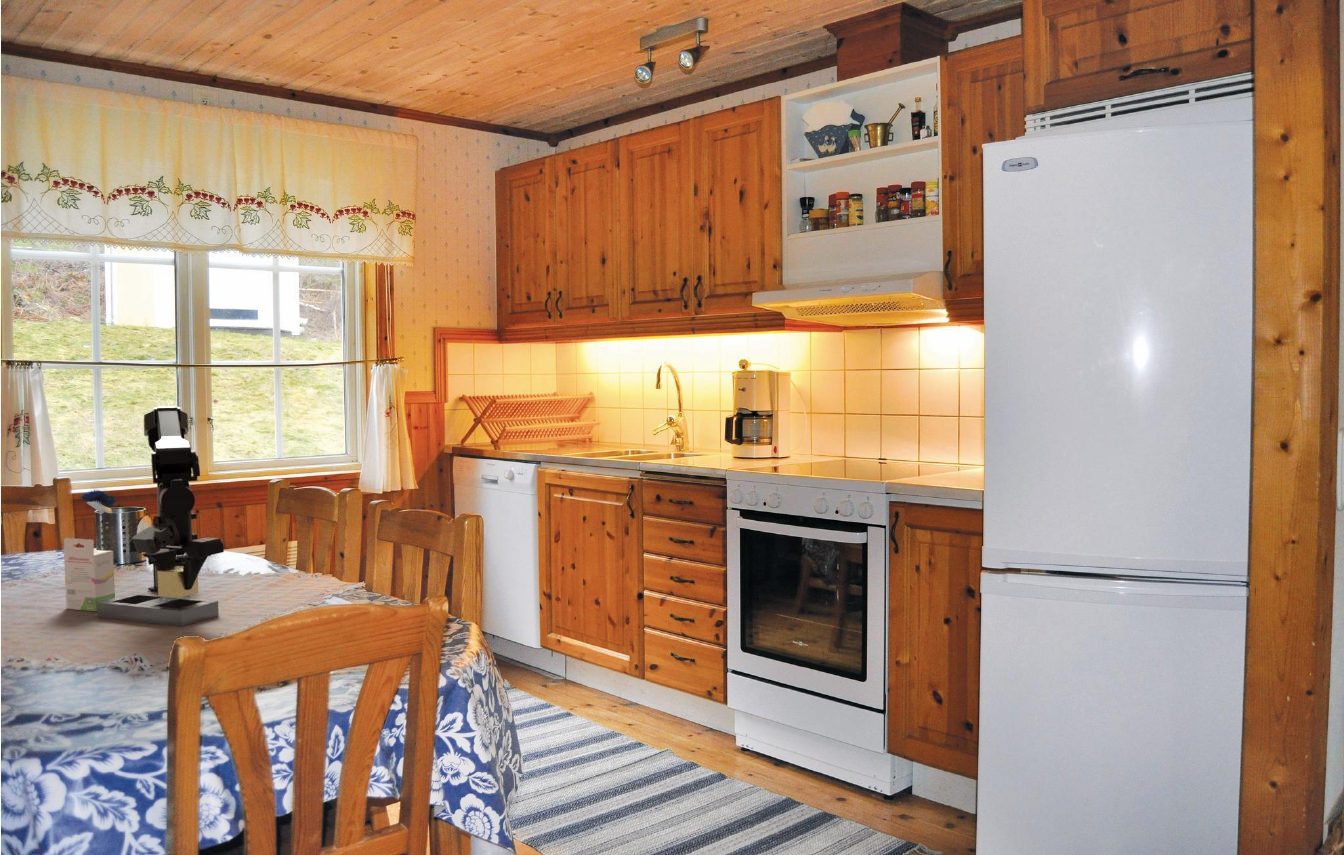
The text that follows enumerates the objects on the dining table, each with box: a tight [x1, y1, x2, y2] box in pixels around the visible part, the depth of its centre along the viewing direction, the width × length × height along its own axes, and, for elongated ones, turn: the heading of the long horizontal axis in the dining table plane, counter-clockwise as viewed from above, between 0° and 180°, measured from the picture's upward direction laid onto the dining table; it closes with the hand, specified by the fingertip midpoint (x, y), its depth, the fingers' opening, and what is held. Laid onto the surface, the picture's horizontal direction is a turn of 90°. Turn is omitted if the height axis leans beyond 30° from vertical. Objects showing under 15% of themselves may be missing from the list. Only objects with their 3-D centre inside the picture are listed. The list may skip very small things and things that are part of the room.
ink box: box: [63, 537, 116, 612], centre depth 208 cm, size 9×5×15 cm, turn 71°
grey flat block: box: [96, 592, 220, 628], centre depth 200 cm, size 22×9×3 cm, turn 69°
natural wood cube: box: [157, 566, 199, 598], centre depth 198 cm, size 5×5×5 cm
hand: (178, 588), depth 198 cm, fingers closed on natural wood cube, 5 cm apart
